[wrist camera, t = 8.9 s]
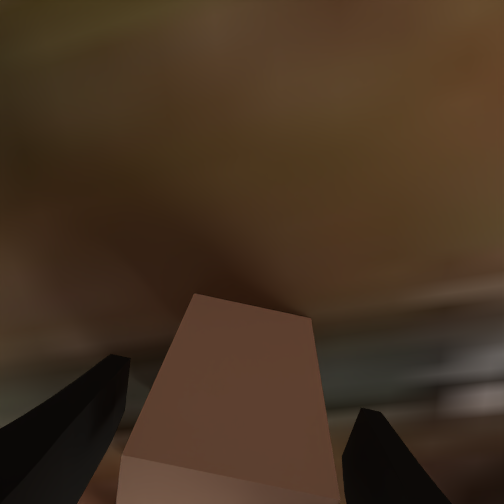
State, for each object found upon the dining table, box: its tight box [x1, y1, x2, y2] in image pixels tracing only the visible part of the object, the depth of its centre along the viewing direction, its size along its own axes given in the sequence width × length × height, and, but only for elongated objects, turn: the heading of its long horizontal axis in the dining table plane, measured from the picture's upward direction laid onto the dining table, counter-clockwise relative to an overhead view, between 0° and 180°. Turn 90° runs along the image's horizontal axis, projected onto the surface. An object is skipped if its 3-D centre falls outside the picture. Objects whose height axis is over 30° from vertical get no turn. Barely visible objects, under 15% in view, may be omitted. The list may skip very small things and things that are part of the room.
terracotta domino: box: [116, 293, 340, 504], centre depth 13 cm, size 2×5×8 cm, turn 78°
